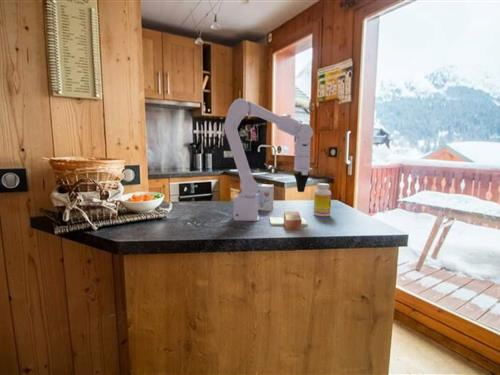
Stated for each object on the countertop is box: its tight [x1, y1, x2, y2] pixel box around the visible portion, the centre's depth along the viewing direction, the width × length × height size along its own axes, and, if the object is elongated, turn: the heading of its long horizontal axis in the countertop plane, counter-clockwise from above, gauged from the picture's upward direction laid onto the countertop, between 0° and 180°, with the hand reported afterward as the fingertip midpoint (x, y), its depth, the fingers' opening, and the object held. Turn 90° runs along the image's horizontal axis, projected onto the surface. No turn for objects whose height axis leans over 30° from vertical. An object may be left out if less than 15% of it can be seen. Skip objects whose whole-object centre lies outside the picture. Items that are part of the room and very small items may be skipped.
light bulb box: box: [257, 183, 275, 212], centre depth 130 cm, size 11×7×11 cm, turn 73°
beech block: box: [283, 210, 302, 231], centre depth 102 cm, size 5×4×8 cm
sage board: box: [269, 216, 309, 227], centre depth 108 cm, size 13×9×1 cm
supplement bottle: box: [313, 182, 332, 217], centre depth 120 cm, size 7×7×13 cm
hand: (300, 191), depth 113 cm, fingers closed
